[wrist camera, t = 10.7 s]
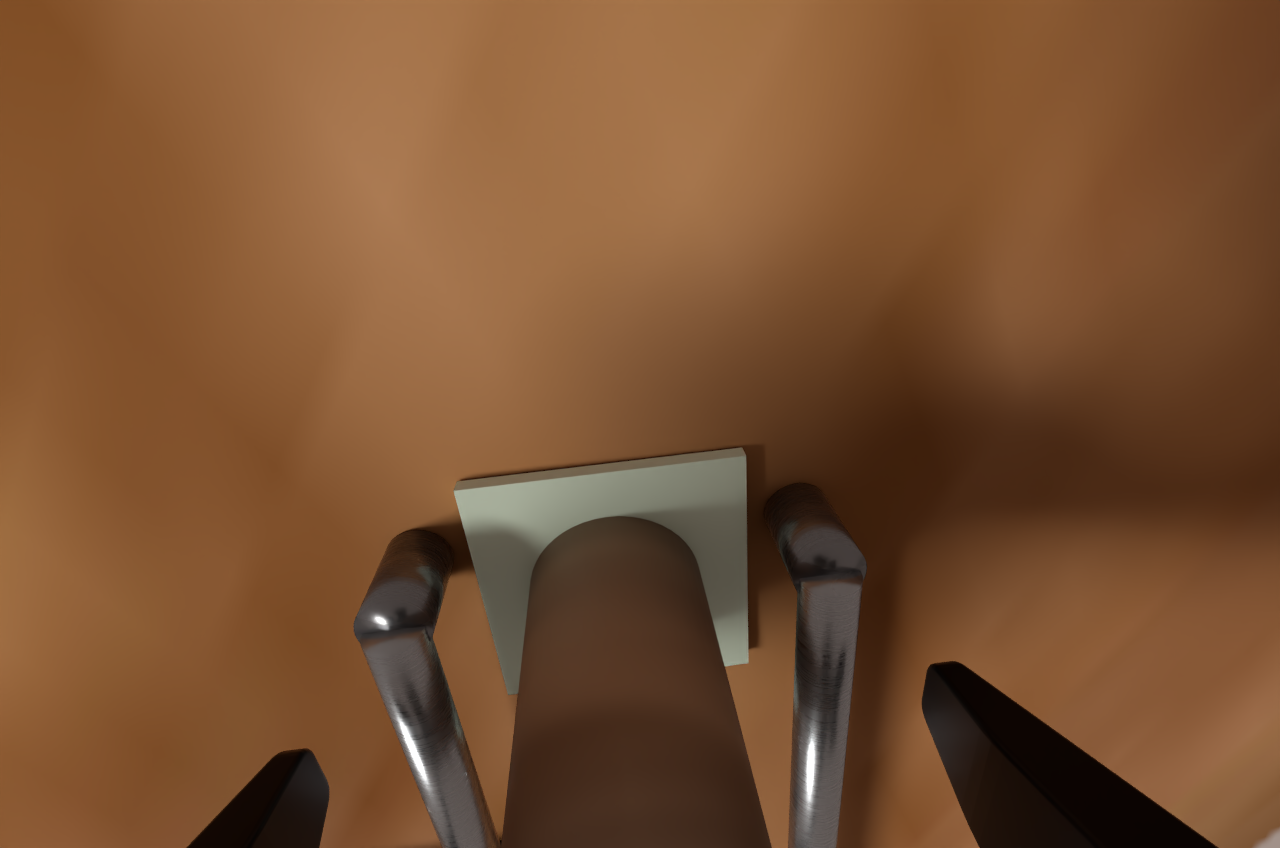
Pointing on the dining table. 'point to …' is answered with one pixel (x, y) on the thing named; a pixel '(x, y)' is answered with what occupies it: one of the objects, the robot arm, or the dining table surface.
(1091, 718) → the dining table surface
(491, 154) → the dining table surface
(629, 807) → the walnut peg
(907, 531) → the dining table surface
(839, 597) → the rails leg
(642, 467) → the sage coaster
